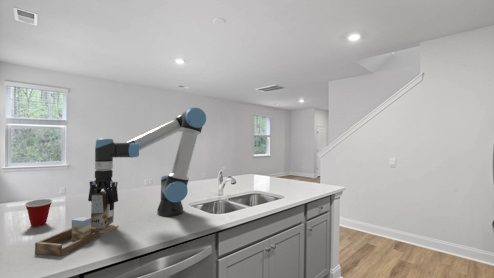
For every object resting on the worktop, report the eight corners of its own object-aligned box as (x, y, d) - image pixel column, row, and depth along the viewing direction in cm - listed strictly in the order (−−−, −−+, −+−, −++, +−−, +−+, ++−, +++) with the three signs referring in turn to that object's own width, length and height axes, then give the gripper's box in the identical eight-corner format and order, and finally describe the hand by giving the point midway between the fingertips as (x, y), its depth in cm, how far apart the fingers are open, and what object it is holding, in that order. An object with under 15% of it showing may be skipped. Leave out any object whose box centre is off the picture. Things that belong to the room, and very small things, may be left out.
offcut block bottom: (90, 237, 104) (91, 231, 104) (83, 241, 100) (83, 234, 100) (79, 236, 105) (79, 229, 105) (71, 240, 101) (71, 233, 101)
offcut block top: (90, 224, 104) (91, 218, 104) (82, 227, 100) (83, 220, 100) (79, 223, 105) (80, 216, 105) (71, 226, 101) (71, 219, 101)
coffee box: (104, 228, 110) (105, 194, 110) (90, 228, 109) (91, 194, 109) (113, 221, 119) (114, 190, 119) (100, 222, 118) (101, 190, 118)
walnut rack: (98, 236, 105) (99, 227, 105) (61, 256, 87) (61, 245, 87) (75, 234, 107) (76, 226, 107) (34, 253, 89) (35, 242, 89)
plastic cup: (19, 230, 111) (20, 205, 111) (28, 223, 121) (29, 200, 121) (48, 226, 116) (49, 203, 116) (54, 220, 126) (55, 198, 126)
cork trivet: (118, 226, 118) (118, 225, 118) (104, 233, 109) (104, 232, 109) (100, 225, 119) (100, 224, 119) (86, 232, 110) (86, 230, 110)
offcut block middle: (91, 231, 104) (91, 224, 104) (83, 234, 100) (83, 227, 100) (80, 229, 105) (80, 223, 105) (71, 233, 102) (71, 226, 102)
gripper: (79, 169, 112) (78, 217, 112) (116, 171, 109) (115, 220, 109) (92, 168, 119) (91, 212, 119) (127, 169, 116) (126, 215, 116)
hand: (102, 216), depth 114 cm, fingers closed on coffee box, 7 cm apart
